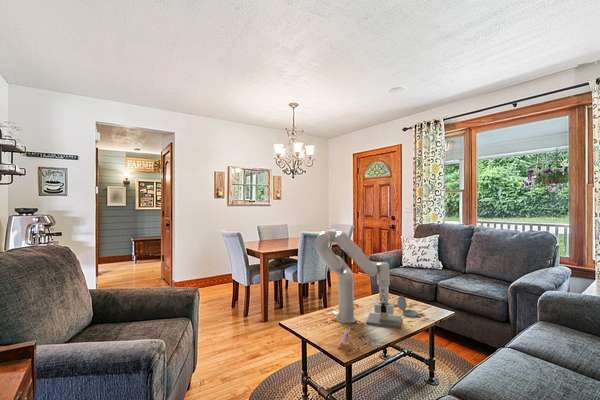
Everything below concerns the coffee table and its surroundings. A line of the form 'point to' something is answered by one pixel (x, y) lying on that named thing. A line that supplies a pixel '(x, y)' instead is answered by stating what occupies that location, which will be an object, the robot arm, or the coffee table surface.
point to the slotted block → (388, 308)
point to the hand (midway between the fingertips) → (384, 310)
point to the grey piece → (384, 320)
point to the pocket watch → (402, 307)
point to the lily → (345, 337)
